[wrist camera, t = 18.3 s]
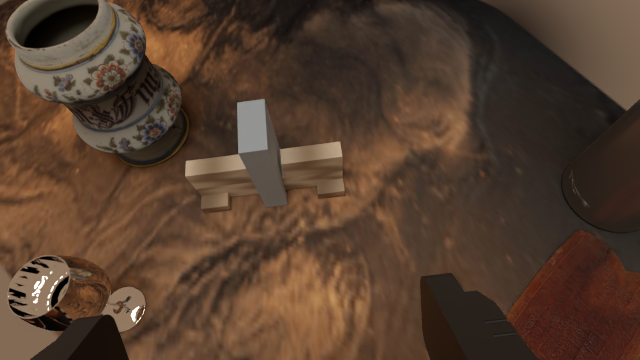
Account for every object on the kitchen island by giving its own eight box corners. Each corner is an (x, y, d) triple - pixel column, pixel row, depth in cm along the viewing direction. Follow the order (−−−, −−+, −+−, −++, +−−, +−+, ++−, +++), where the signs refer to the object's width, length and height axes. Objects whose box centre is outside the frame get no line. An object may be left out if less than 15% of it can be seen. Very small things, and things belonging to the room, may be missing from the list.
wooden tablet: (572, 226, 40) (581, 220, 39) (669, 294, 36) (683, 291, 35) (409, 432, 33) (412, 435, 31) (510, 544, 29) (519, 554, 28)
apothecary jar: (167, 81, 52) (87, -47, 36) (216, 134, 48) (149, 15, 32) (88, 132, 49) (-38, 17, 33) (132, 194, 45) (10, 95, 28)
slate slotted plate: (284, 163, 45) (264, 99, 34) (287, 204, 43) (267, 149, 32) (263, 166, 45) (237, 102, 34) (265, 207, 43) (238, 153, 32)
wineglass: (140, 343, 37) (56, 332, 26) (87, 334, 38) (-17, 321, 27) (159, 284, 40) (90, 252, 29) (109, 277, 40) (22, 243, 30)
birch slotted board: (339, 157, 45) (337, 128, 40) (344, 195, 43) (344, 170, 37) (205, 174, 45) (187, 148, 40) (204, 213, 43) (184, 190, 37)
